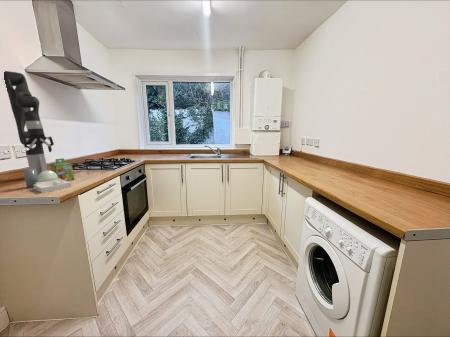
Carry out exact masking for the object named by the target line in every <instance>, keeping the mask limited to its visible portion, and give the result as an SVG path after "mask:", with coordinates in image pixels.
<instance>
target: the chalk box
mask: <svg viewBox="0 0 450 337" xmlns="http://www.w3.org/2000/svg"><path fill="white" fill-rule="evenodd" d="M59 161H61V162H59ZM50 168H51V171H53V172H55V173H56V174H57V176H58V178H60V179H62V180H65V181H68V182H71V181H74V180H75V176H74V170H73V164H72V163H70V162H66V161H65V159H64V158H63V157H62V158H56V159H55V163H51V164H50Z"/></svg>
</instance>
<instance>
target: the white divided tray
mask: <svg viewBox="0 0 450 337" xmlns="http://www.w3.org/2000/svg"><path fill="white" fill-rule="evenodd" d="M71 184H72V183H71V181H65V180H62V179H60V178H58V176H57V174H56V173H55V172H53V171H52V170H48V171H43V172H41V173H40V174H39V175H38V182H35V184H33V186H34V188H33V189H34V190H35V191H37V192H39V193H41V194H45V193H49V191H50V192H53V191H54V192H55V191H59V190H64V189H68V188H71V187H72V185H71Z"/></svg>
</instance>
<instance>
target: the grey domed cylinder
mask: <svg viewBox="0 0 450 337" xmlns="http://www.w3.org/2000/svg"><path fill="white" fill-rule="evenodd" d="M22 171H23V172H22V173H23V176H24V180H25V185H26V188H27V189H34V186H33V184H35V182H38V177H37V172H36V168H31V169H29V168H25V169H23V170H22Z"/></svg>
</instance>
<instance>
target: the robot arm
mask: <svg viewBox="0 0 450 337" xmlns="http://www.w3.org/2000/svg"><path fill="white" fill-rule="evenodd" d="M4 71H5V72H4V80H5V84H6V87H5V89H6V88H7V90H6V92H7V95H8V99H9V103H10V108H11V111H12V114H13V118H14V120H15V124H16V128H17V132H18V133H17V134H18V139H19V142H20V143H21V145H23V146H24V148H27V149H28V150H26V151H25V155H26V159H27V163H28V169H31V168H36V172H37V177H38V175H39V174H40V173H41V172H43V171H49V170H48V166H47V165H48V164H47V161H46V157H45V156H46V155H45V151H44V146H43V144H44V145H46V146H47V149H48V152H49V153H52V151H53V150H52V146H54V145H55V143H54V140H53V138H52V136H46V135H45V132H44V127H43V124H42V121H41V118H40V112H39V111H40V110H39V108H40V100H39V99H38V97H36V96H33V95H32V93H31V92H30V90H29V85H28V82H27V78H26V77H25V75H24V74H23V73H21V72H16V71H15V72H14V71H10V70H9V71H7V70H4ZM5 84H4V85H5ZM14 87H15V88H14ZM31 108H32V110H31ZM25 127H26V129H27V131H26V130H25ZM46 140H48V141H49V143H48V142H47V141H46ZM34 145H35V146H34ZM33 146H34V147H33Z"/></svg>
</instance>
